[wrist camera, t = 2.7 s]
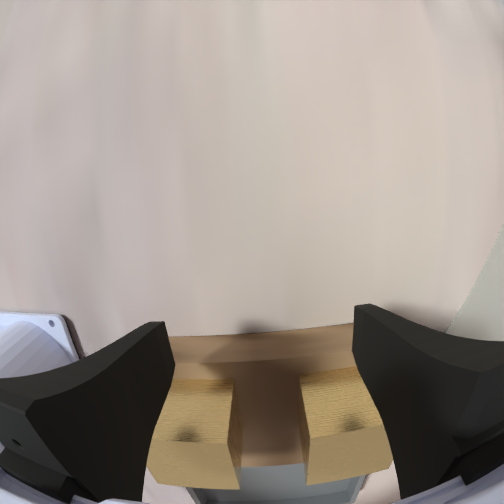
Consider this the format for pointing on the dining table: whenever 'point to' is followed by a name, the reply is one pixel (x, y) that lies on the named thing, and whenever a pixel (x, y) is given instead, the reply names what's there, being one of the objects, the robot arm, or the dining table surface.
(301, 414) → the tan wooden cube
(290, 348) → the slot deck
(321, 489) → the tray
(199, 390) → the wooden cube
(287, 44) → the dining table surface
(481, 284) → the light grey rounded slab
